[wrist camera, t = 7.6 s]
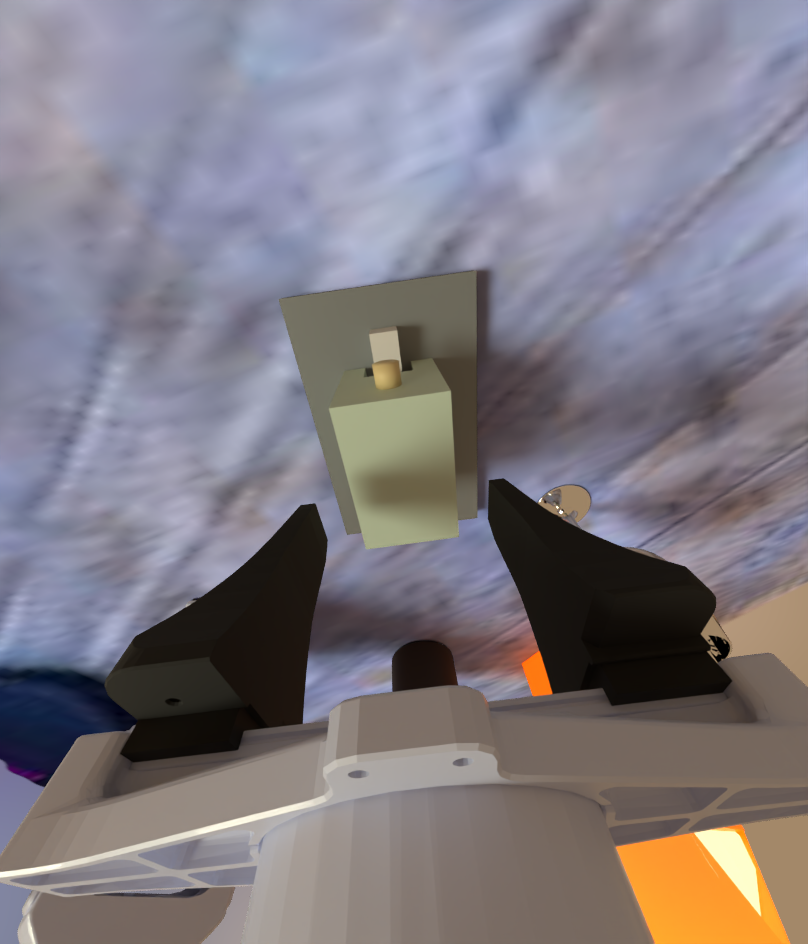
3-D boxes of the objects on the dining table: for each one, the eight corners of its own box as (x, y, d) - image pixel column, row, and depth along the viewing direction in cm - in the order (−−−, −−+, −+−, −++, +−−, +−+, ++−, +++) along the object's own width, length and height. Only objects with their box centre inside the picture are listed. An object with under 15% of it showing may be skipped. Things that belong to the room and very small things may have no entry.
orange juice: (623, 641, 36) (833, 963, 19) (566, 678, 40) (700, 975, 23) (575, 622, 34) (768, 971, 17) (519, 663, 38) (631, 983, 21)
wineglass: (525, 486, 24) (627, 639, 14) (602, 470, 24) (765, 616, 14) (526, 540, 27) (610, 699, 17) (594, 527, 27) (724, 682, 17)
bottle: (387, 642, 34) (390, 1010, 17) (451, 635, 34) (518, 997, 17) (395, 675, 38) (404, 1006, 21) (453, 669, 38) (510, 996, 21)
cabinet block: (441, 476, 22) (458, 536, 17) (370, 486, 22) (366, 549, 17) (430, 339, 18) (449, 365, 12) (340, 352, 18) (322, 384, 13)
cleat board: (474, 509, 25) (482, 531, 23) (348, 525, 25) (344, 548, 23) (471, 270, 17) (484, 270, 15) (283, 297, 17) (269, 301, 15)
